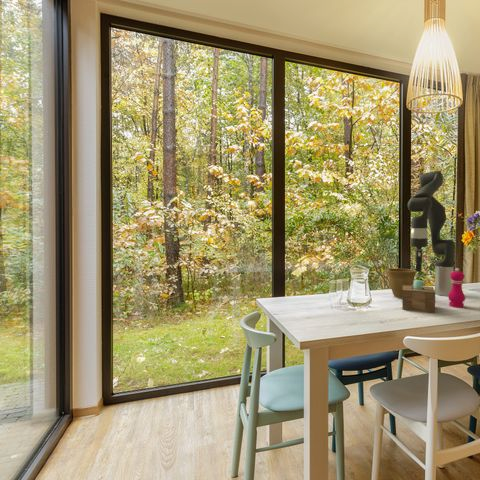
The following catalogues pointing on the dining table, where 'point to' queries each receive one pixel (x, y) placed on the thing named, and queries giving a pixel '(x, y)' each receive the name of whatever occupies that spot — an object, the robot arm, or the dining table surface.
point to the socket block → (418, 299)
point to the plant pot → (400, 280)
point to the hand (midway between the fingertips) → (418, 270)
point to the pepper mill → (456, 289)
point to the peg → (418, 284)
